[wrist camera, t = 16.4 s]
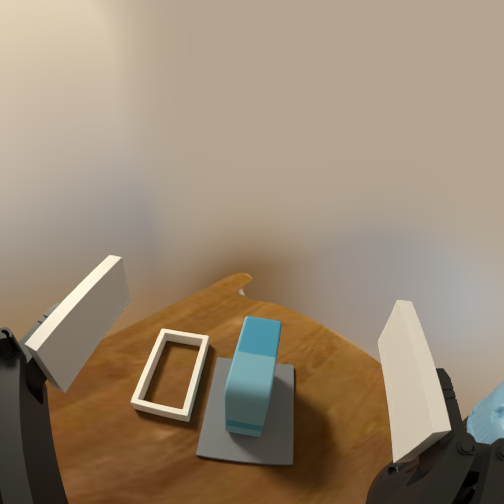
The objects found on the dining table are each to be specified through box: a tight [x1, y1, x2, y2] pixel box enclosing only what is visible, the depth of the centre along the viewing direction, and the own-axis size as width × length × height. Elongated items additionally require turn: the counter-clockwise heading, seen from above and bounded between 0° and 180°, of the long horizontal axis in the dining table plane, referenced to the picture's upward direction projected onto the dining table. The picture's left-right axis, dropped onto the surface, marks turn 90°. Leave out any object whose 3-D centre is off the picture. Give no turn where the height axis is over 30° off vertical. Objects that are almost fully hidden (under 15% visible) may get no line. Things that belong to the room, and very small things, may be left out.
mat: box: [196, 357, 294, 466], centre depth 35 cm, size 12×17×1 cm
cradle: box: [131, 328, 209, 422], centre depth 38 cm, size 8×15×2 cm, turn 175°
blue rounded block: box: [224, 316, 282, 437], centre depth 32 cm, size 12×4×12 cm, turn 170°
